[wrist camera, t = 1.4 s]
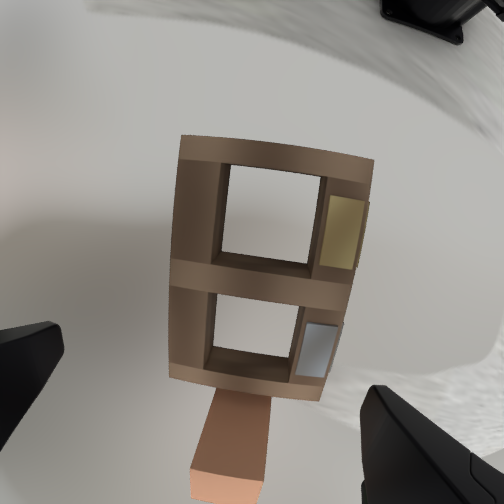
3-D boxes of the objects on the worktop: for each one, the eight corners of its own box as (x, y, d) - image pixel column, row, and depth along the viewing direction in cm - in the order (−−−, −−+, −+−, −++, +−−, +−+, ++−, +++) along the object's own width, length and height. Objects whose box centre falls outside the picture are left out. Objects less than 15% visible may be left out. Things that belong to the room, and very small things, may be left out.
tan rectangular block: (272, 385, 21) (263, 481, 13) (264, 420, 22) (254, 509, 14) (220, 377, 22) (189, 468, 13) (216, 412, 23) (191, 498, 14)
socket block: (363, 163, 17) (378, 160, 14) (318, 375, 21) (322, 403, 18) (197, 140, 18) (180, 134, 15) (182, 354, 21) (168, 378, 18)
